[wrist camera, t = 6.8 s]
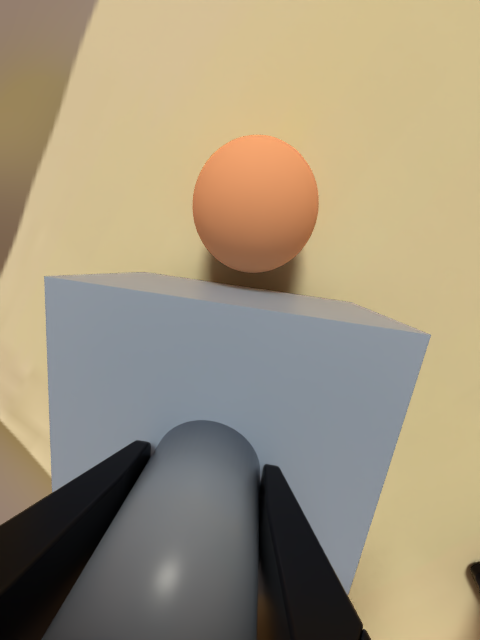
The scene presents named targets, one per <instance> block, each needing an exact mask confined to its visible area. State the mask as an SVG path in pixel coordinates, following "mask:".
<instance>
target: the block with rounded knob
mask: <svg viewBox="0 0 480 640" xmlns="http://www.w3.org/2000/svg"><path fill="white" fill-rule="evenodd" d="M44 281H45V309H46V336H47V364H48V391H49V419H50V446H51V474H52V492H54V491H56V490H57V489H59V488H60V487H62V486H64V485H65V484H67V483H68V482H70V481H72V480H73V479H75V478H76V477H78V476H80V475H81V474H83V473H84V472H86V471H87V470H89V469H91V468H92V467H94V466H95V465H97V464H99V463H100V462H102V461H103V460H105V459H107V458H108V457H110V456H111V455H113V454H115V453H116V452H118V451H119V450H121V449H122V448H124V447H126V446H127V445H129V444H130V443H132V442H134V441H136V440H141V441H147V442H150V444H151V458H150V459H149V461H148V463H147V464H146V466H145V468H144V469H143V471H142V473H141V474H140V476H139V478H138V479H137V481H136V483H135V484H134V486H133V488H132V489H131V491H130V493H129V494H128V496H127V498H126V499H125V501H124V503H123V504H122V506H121V508H120V509H119V511H118V513H117V514H116V516H115V518H114V519H113V521H112V523H111V524H110V526H109V528H108V529H107V531H106V533H105V534H104V536H103V538H102V539H101V541H100V543H99V544H98V546H97V548H96V549H95V551H94V553H93V554H92V556H91V558H90V559H89V561H88V563H87V564H86V566H85V568H84V569H83V571H82V573H81V574H80V576H79V578H78V579H77V581H76V583H75V584H74V586H73V588H72V589H71V591H70V593H69V594H68V596H67V598H66V599H65V601H64V603H63V604H62V606H61V608H60V609H59V611H58V613H57V614H56V616H55V618H54V619H53V621H52V623H51V624H50V626H49V628H48V629H47V631H46V633H45V634H44V636H43V638H42V639H41V640H257V604H258V559H259V514H260V482H261V477H262V471H263V467H264V465H265V464H270V465H276V466H278V467H279V468H280V469H281V471H282V473H283V475H284V477H285V479H286V481H287V482H288V484H289V486H290V488H291V490H292V492H293V494H294V496H295V498H296V499H297V501H298V503H299V505H300V507H301V509H302V511H303V513H304V514H305V516H306V518H307V520H308V522H309V524H310V526H311V528H312V529H313V531H314V533H315V535H316V537H317V539H318V541H319V543H320V545H321V546H322V548H323V550H324V552H325V554H326V556H327V558H328V560H329V561H330V563H331V565H332V567H333V569H334V571H335V573H336V575H337V577H338V578H339V580H340V582H341V584H342V586H343V588H344V590H345V592H346V593H347V595H348V594H349V591H350V588H351V585H352V581H353V578H354V575H355V572H356V569H357V566H358V563H359V559H360V556H361V553H362V550H363V547H364V544H365V541H366V537H367V534H368V531H369V528H370V525H371V522H372V519H373V515H374V512H375V509H376V506H377V503H378V500H379V497H380V493H381V490H382V487H383V484H384V481H385V478H386V475H387V471H388V468H389V465H390V462H391V459H392V456H393V453H394V450H395V446H396V443H397V440H398V437H399V434H400V431H401V428H402V424H403V421H404V418H405V415H406V412H407V409H408V406H409V402H410V399H411V396H412V393H413V390H414V387H415V384H416V380H417V377H418V374H419V371H420V368H421V365H422V362H423V358H424V355H425V352H426V349H427V346H428V343H429V340H430V336H431V335H430V334H428V333H425V332H423V331H420V330H418V329H415V328H413V327H410V326H408V325H406V324H403V323H401V322H398V321H396V320H393V319H391V318H388V317H386V316H384V315H381V314H379V313H376V312H374V311H371V310H369V309H366V308H364V307H362V306H359V305H357V304H354V303H352V302H346V301H339V300H332V299H325V298H318V297H311V296H305V295H298V294H291V293H284V292H277V291H270V290H264V289H257V288H250V287H243V286H236V285H229V284H223V283H216V282H209V281H202V280H195V279H188V278H182V277H175V276H168V275H161V274H154V273H147V272H134V273H110V274H86V275H62V276H44Z"/></svg>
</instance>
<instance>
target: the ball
mask: <svg viewBox="0 0 480 640" xmlns="http://www.w3.org/2000/svg"><path fill="white" fill-rule="evenodd" d="M317 214H318V190H317V185H316V181H315V178H314V175H313V173H312V171H311V169H310V167H309V165H308V163H307V162H306V161H305V159H304V158H303V157H302V155H301V154H300V153H299V152H298V151H297V150H296V149H294V148H293V147H292V146H291V145H289V144H287V143H286V142H284V141H282V140H280V139H277V138H275V137H271V136H266V135H249V136H243V137H240V138H236V139H234V140H232V141H230V142H228V143H227V144H225V145H223V146H222V147H220V148H219V149H218V150H217V151H216V152H215V153H214V154H213V155H212V156H211V157H210V158H209V159H208V161H207V162H206V163H205V165H204V167H203V168H202V170H201V172H200V174H199V176H198V179H197V182H196V185H195V189H194V194H193V216H194V222H195V226H196V229H197V232H198V234H199V236H200V238H201V241H202V242H203V244H204V245H205V247H206V248H207V250H208V251H209V252H210V253H211V254H212V255H213V256H214V257H215V258H216V259H217V260H218V261H220V262H221V263H223V264H225V265H226V266H228V267H230V268H232V269H235V270H238V271H242V272H249V273H259V272H266V271H270V270H273V269H276V268H278V267H280V266H282V265H284V264H286V263H287V262H289V261H290V260H291V259H293V258H294V257H295V256H296V255H297V254H298V253H299V252H300V251H301V250H302V248H303V247H304V246H305V244H306V243H307V241H308V240H309V238H310V236H311V234H312V232H313V229H314V226H315V223H316V219H317Z"/></svg>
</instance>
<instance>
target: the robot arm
mask: <svg viewBox="0 0 480 640" xmlns="http://www.w3.org/2000/svg"><path fill="white" fill-rule="evenodd" d="M150 458H151V444H150V442H147V441H141V440H136V441H134V442H132V443H130V444H129V445H127V446H126V447H124V448H122V449H121V450H119V451H118V452H116V453H115V454H113V455H111V456H110V457H108V458H107V459H105V460H103V461H102V462H100V463H99V464H97V465H95V466H94V467H92V468H91V469H89V470H87V471H86V472H84V473H83V474H81V475H80V476H78V477H76V478H75V479H73V480H72V481H70V482H68V483H67V484H65V485H64V486H62V487H60V488H59V489H57V490H56V491H54V492H52V493H51V494H49V495H48V496H46V497H44V498H43V499H42V500H40V501H38V502H37V503H35V504H34V505H32V506H30V507H29V508H27V509H25V510H24V511H23V512H21V513H19V514H18V515H16V516H14V517H13V518H11V519H10V520H8V521H6V522H5V523H3V524H2V525H0V640H41V639H42V638H43V636H44V634H45V633H46V631H47V629H48V628H49V626H50V624H51V623H52V621H53V619H54V618H55V616H56V614H57V613H58V611H59V609H60V608H61V606H62V604H63V603H64V601H65V599H66V598H67V596H68V594H69V593H70V591H71V589H72V588H73V586H74V584H75V583H76V581H77V579H78V578H79V576H80V574H81V573H82V571H83V569H84V568H85V566H86V564H87V563H88V561H89V559H90V558H91V556H92V554H93V553H94V551H95V549H96V548H97V546H98V544H99V543H100V541H101V539H102V538H103V536H104V534H105V533H106V531H107V529H108V528H109V526H110V524H111V523H112V521H113V519H114V518H115V516H116V514H117V513H118V511H119V509H120V508H121V506H122V504H123V503H124V501H125V499H126V498H127V496H128V494H129V493H130V491H131V489H132V488H133V486H134V484H135V483H136V481H137V479H138V478H139V476H140V474H141V473H142V471H143V469H144V468H145V466H146V464H147V463H148V461H149V459H150ZM470 570H471V573H472V576H473V578H474V580H475V583H476V585H477V587H478V590H479V592H480V564H476V565H473V566H472V567H471V569H470ZM362 629H363V624H362V622H361V620H360V618H359V616H358V614H357V612H356V610H355V609H354V607H353V605H352V603H351V601H350V599H349V597H348V595H347V593H346V592H345V590H344V588H343V586H342V584H341V582H340V580H339V578H338V577H337V575H336V573H335V571H334V569H333V567H332V565H331V563H330V561H329V560H328V558H327V556H326V554H325V552H324V550H323V548H322V546H321V545H320V543H319V541H318V539H317V537H316V535H315V533H314V531H313V529H312V528H311V526H310V524H309V522H308V520H307V518H306V516H305V514H304V513H303V511H302V509H301V507H300V505H299V503H298V501H297V499H296V498H295V496H294V494H293V492H292V490H291V488H290V486H289V484H288V482H287V481H286V479H285V477H284V475H283V473H282V471H281V469H280V468H279V467H278V466H276V465H270V464H265V465H264V467H263V471H262V477H261V482H260V514H259V559H258V604H257V640H371V638H370V636H369V635H368V633H367V631H366V630H365V629H363V630H362Z"/></svg>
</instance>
